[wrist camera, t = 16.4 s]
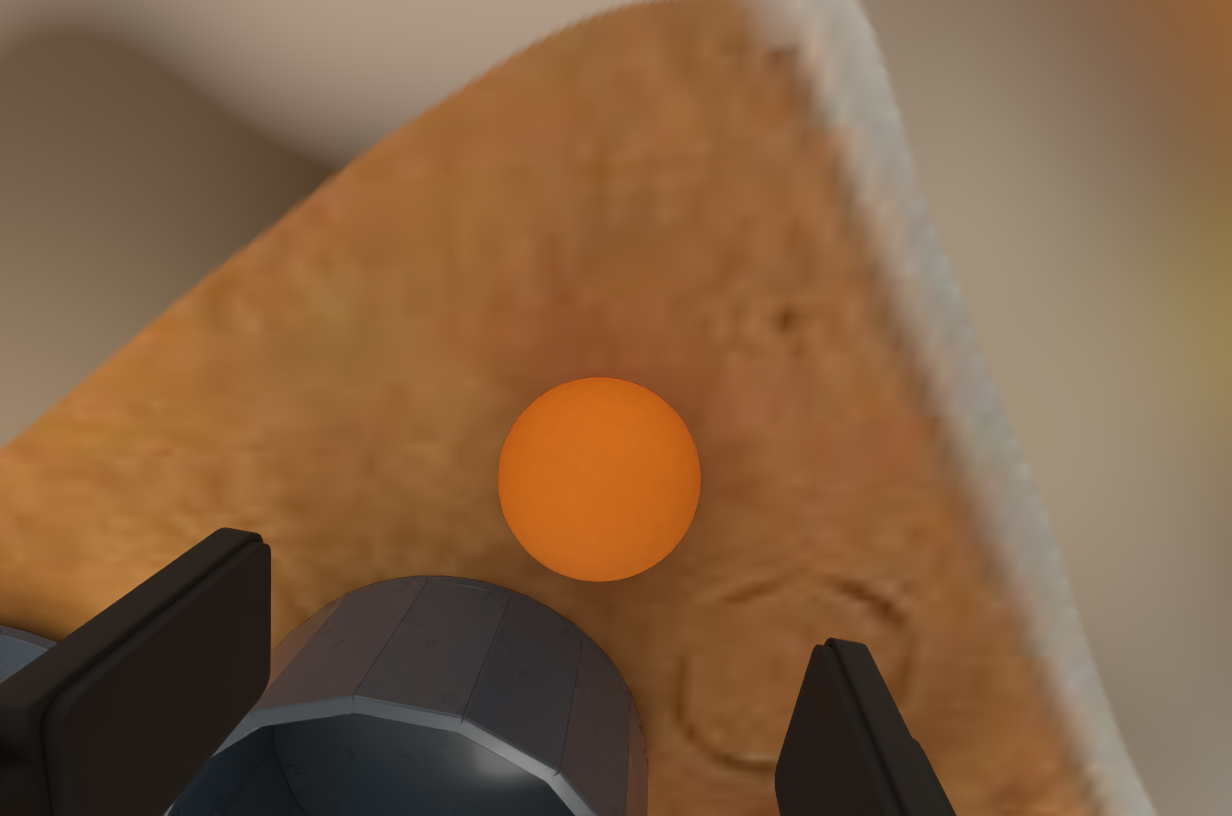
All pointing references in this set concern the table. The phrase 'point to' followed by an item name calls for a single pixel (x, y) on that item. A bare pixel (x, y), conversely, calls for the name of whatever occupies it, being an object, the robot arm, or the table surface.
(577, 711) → the dark blue round container
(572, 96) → the table surface
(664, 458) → the orange ball
